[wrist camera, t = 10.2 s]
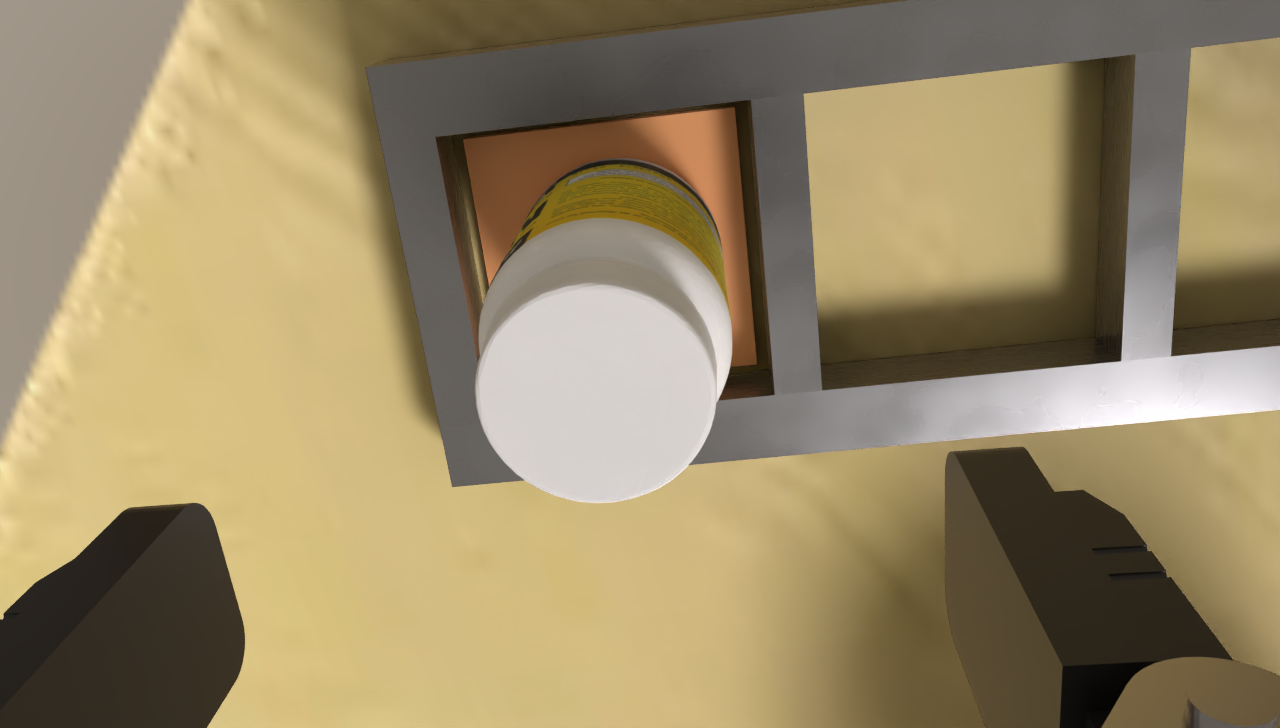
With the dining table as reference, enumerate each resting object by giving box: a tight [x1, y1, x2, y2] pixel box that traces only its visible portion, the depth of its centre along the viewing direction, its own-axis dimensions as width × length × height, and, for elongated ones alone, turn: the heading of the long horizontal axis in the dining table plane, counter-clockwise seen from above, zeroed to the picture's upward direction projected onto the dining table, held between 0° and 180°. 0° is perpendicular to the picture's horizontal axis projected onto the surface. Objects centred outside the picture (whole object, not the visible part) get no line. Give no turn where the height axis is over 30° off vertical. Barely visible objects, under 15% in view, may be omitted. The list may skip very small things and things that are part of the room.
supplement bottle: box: [475, 158, 732, 503], centre depth 21 cm, size 5×5×8 cm
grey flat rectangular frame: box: [365, 0, 1280, 487], centre depth 24 cm, size 25×10×2 cm, turn 97°
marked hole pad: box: [463, 106, 757, 367], centre depth 25 cm, size 6×6×1 cm
